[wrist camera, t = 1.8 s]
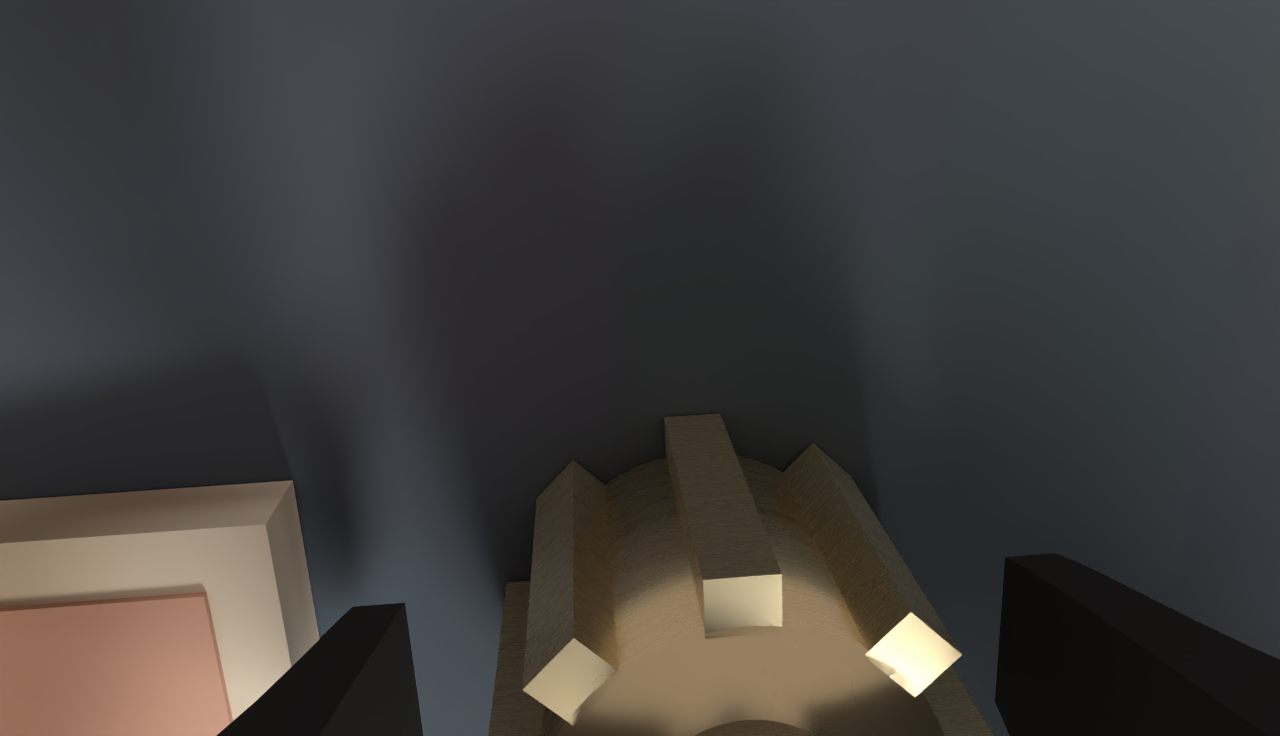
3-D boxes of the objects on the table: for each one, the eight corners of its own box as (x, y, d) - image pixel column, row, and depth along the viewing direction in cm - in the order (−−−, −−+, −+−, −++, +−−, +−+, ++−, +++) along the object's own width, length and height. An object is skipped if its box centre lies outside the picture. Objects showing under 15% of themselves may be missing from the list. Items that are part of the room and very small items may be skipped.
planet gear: (889, 401, 13) (1084, 630, 8) (880, 733, 15) (1037, 1094, 10) (491, 429, 13) (440, 681, 8) (524, 763, 14) (500, 1148, 9)
